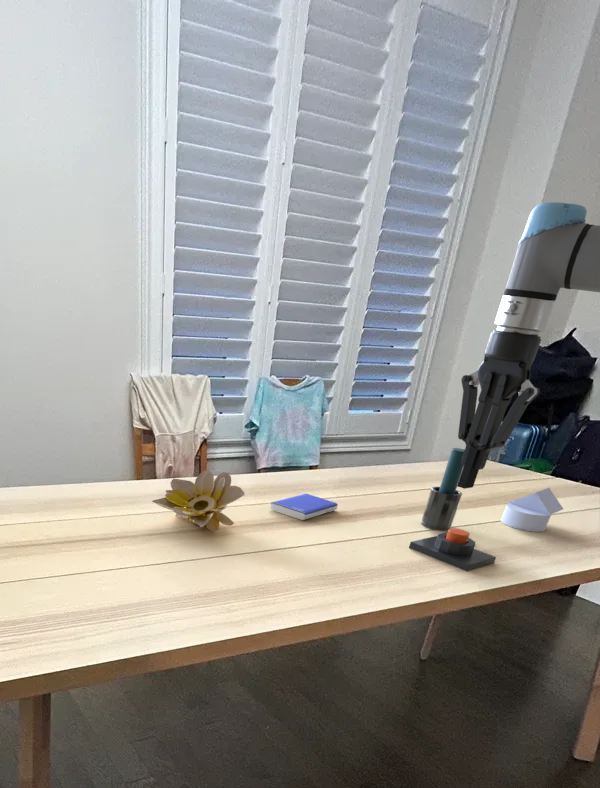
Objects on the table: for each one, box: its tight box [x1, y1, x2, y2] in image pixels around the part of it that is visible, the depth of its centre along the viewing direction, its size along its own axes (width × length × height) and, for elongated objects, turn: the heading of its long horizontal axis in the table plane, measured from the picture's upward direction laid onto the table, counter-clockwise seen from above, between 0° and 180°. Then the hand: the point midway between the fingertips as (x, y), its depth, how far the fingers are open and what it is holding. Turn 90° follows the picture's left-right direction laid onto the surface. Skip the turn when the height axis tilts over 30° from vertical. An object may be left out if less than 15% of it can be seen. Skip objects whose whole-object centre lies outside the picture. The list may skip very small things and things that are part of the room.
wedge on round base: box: [500, 487, 564, 533], centre depth 135 cm, size 9×7×13 cm
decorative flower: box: [151, 469, 246, 532], centre depth 111 cm, size 15×11×10 cm
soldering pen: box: [439, 447, 465, 495], centre depth 123 cm, size 3×3×14 cm
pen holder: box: [420, 486, 463, 532], centre depth 126 cm, size 6×6×7 cm
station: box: [408, 532, 497, 572], centre depth 112 cm, size 12×9×3 cm
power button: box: [446, 528, 470, 544], centre depth 111 cm, size 4×4×2 cm
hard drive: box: [269, 493, 338, 521], centre depth 127 cm, size 2×8×12 cm
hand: (465, 486), depth 112 cm, fingers closed
